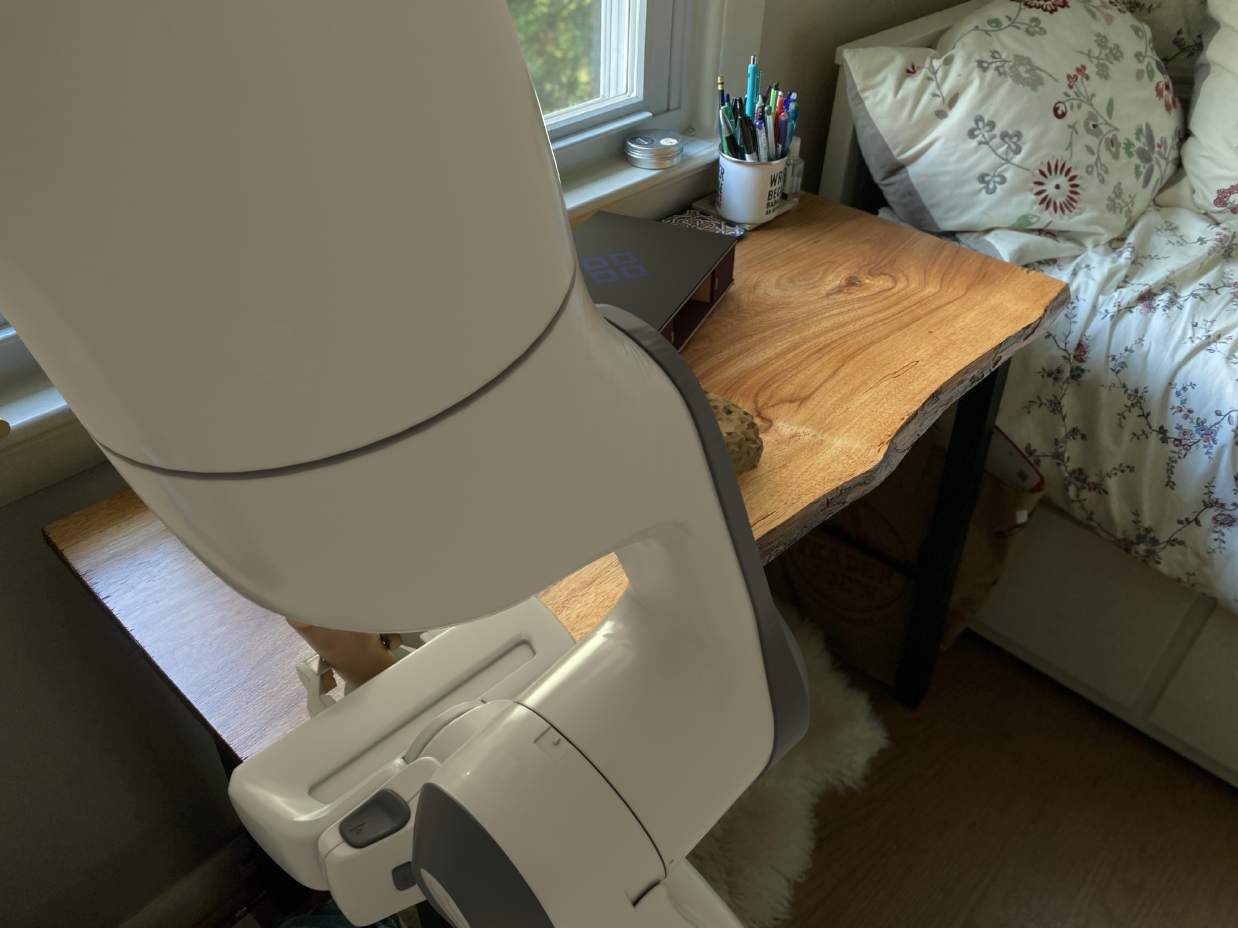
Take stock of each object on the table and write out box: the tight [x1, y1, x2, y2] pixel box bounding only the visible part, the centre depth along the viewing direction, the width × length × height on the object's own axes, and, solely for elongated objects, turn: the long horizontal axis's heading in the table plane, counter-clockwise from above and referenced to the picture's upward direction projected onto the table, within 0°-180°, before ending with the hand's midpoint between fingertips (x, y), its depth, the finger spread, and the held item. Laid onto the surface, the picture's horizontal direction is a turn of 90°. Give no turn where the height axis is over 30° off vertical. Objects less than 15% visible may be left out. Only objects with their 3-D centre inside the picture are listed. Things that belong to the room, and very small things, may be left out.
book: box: [572, 209, 738, 354], centre depth 100 cm, size 17×25×7 cm
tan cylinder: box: [284, 617, 412, 697], centre depth 57 cm, size 5×5×12 cm
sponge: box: [703, 389, 764, 476], centre depth 82 cm, size 13×8×20 cm
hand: (345, 643), depth 57 cm, fingers closed on tan cylinder, 4 cm apart
